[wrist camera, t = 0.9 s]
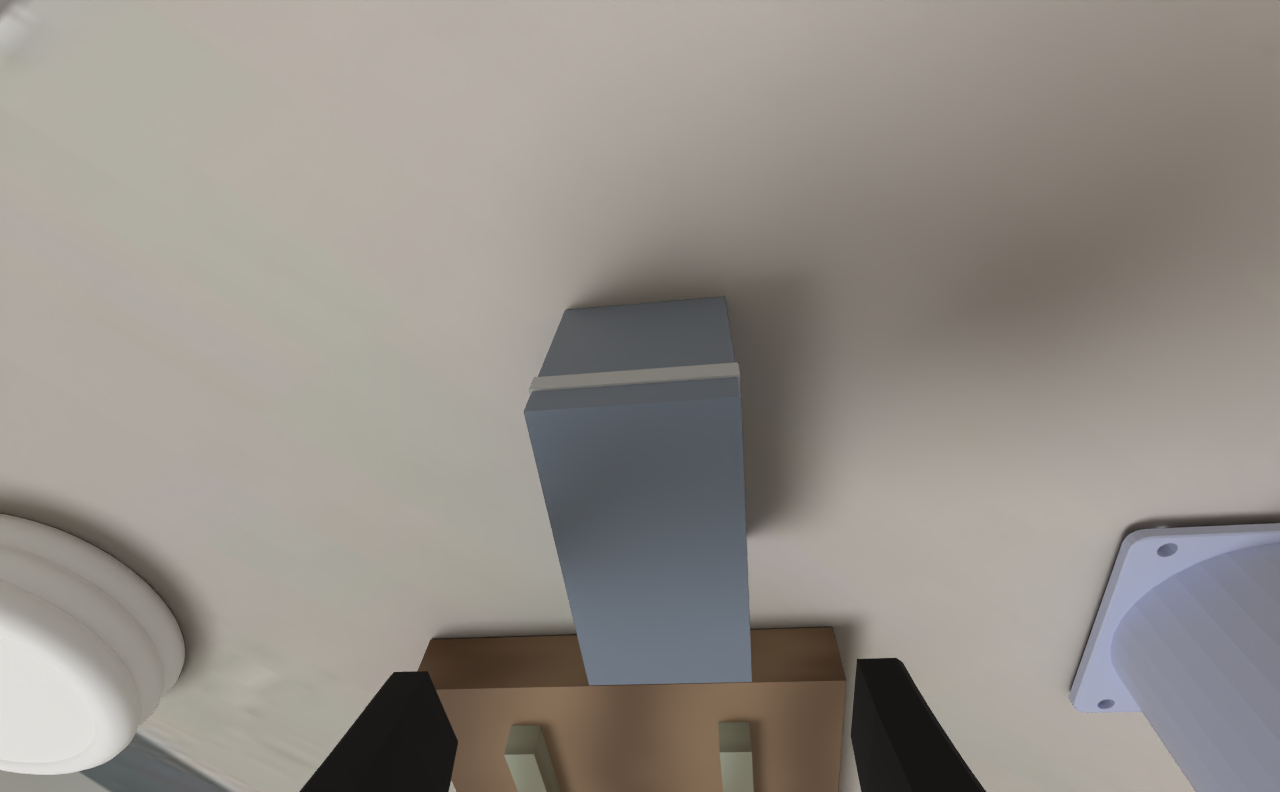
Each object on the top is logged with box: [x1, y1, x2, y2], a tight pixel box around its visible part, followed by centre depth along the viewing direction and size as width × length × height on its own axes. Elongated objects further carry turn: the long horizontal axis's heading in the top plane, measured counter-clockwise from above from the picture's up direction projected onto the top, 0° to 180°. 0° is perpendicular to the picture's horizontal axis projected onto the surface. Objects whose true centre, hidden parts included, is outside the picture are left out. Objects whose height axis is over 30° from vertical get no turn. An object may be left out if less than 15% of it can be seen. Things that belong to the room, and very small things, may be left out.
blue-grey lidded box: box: [524, 296, 752, 685], centre depth 16 cm, size 4×8×5 cm, turn 7°
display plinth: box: [418, 627, 846, 792], centre depth 24 cm, size 14×14×3 cm
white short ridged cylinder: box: [0, 514, 185, 775], centre depth 22 cm, size 10×10×4 cm
